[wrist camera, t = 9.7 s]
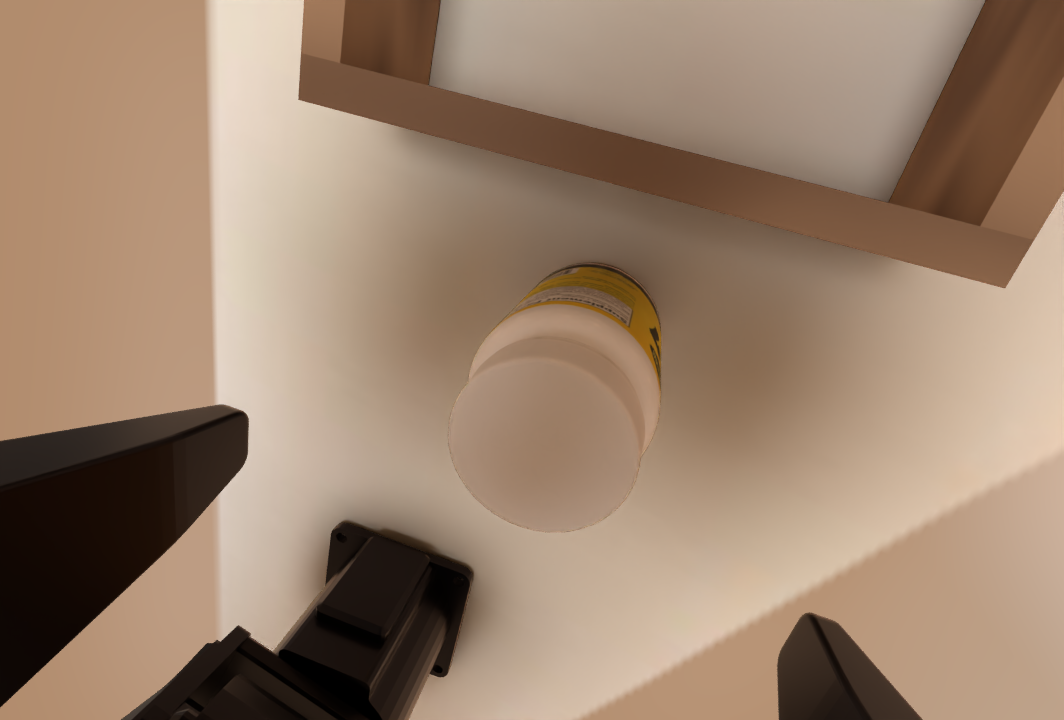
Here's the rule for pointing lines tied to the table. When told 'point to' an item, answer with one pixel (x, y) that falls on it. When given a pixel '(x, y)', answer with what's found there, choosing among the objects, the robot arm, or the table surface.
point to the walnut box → (840, 217)
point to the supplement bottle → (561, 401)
